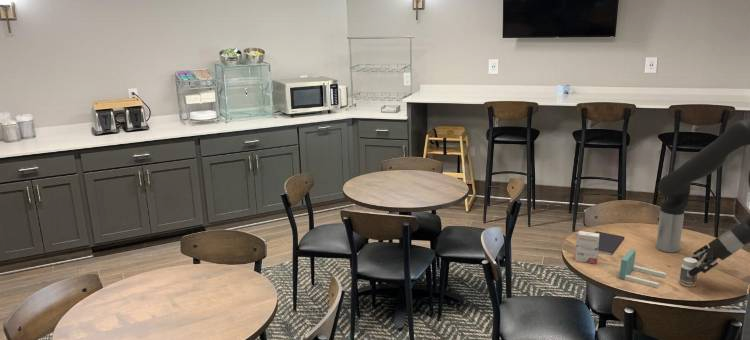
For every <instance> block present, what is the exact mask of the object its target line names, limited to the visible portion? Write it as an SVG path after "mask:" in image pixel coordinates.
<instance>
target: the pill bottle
mask: <svg viewBox="0 0 750 340" xmlns="http://www.w3.org/2000/svg"><path fill="white" fill-rule="evenodd" d="M697 266H698V261H697V260H696V259H694V258H692V257H684V258H683V259H682V264H681V265H680V271H679V272H680V273H679V280H678V282H679V284H681V285H682V286H684V287H688V288H689V287H695V286H696V285H697V277H698V274H696V275H694V276H693V277H692V276H690V274H689V273H688V271H690V270H691V269H693V268H695V267H697Z"/></svg>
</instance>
